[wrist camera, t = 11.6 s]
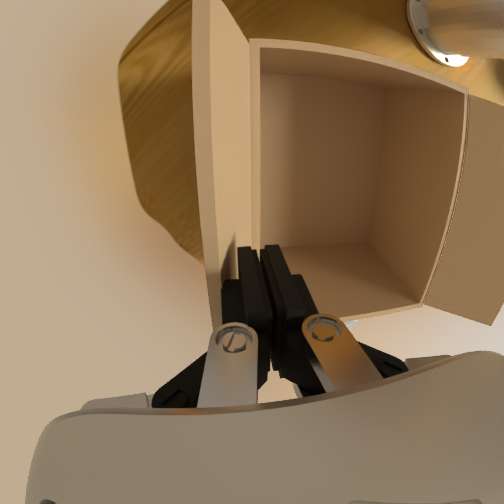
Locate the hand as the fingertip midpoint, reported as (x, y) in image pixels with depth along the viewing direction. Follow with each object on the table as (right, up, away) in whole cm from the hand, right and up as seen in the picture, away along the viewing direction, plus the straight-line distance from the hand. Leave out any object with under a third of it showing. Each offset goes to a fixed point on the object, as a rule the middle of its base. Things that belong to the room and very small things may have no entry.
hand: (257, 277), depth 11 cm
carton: (+7, +11, +19) cm, 23 cm away
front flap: (-1, +1, +2) cm, 3 cm away
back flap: (+21, +3, +6) cm, 22 cm away
